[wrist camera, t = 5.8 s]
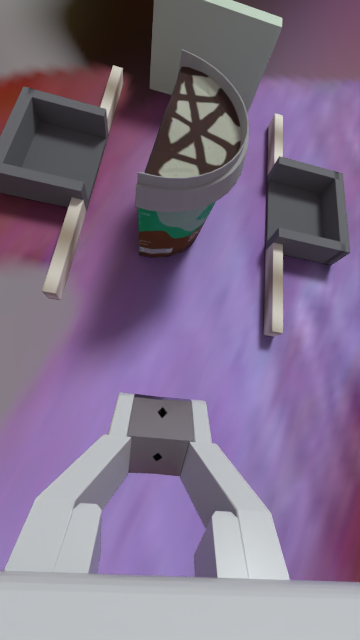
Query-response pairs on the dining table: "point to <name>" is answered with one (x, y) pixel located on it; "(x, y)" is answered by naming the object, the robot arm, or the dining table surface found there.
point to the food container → (191, 158)
